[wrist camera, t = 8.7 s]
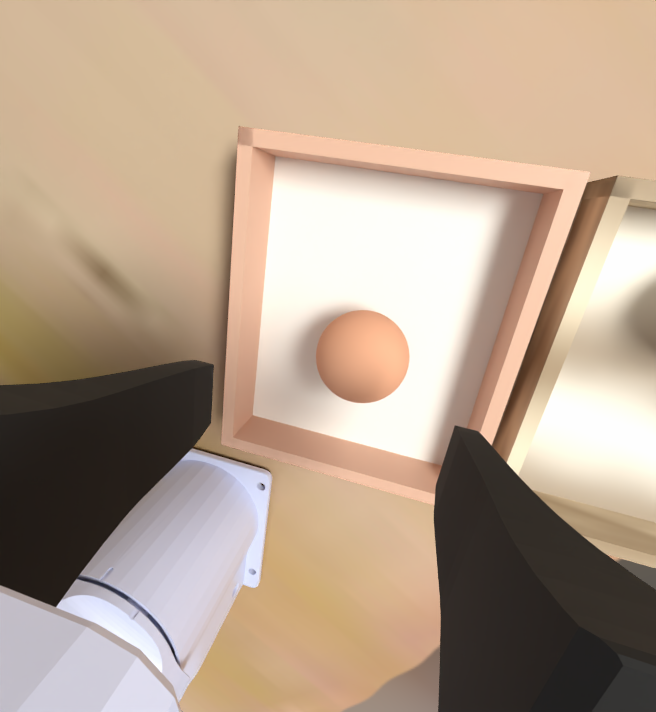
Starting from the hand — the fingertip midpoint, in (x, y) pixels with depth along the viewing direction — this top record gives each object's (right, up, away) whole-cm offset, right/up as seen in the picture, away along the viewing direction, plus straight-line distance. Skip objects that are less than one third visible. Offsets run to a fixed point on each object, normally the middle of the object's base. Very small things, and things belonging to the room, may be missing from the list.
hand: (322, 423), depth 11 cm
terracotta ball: (+2, +2, +5) cm, 6 cm away
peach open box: (+2, +4, +7) cm, 8 cm away
